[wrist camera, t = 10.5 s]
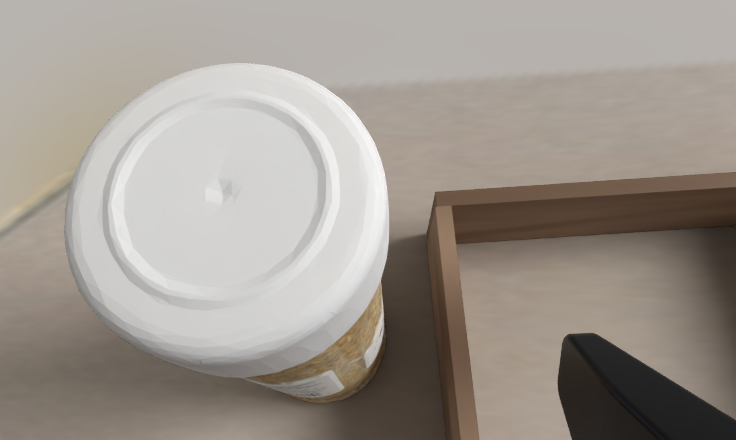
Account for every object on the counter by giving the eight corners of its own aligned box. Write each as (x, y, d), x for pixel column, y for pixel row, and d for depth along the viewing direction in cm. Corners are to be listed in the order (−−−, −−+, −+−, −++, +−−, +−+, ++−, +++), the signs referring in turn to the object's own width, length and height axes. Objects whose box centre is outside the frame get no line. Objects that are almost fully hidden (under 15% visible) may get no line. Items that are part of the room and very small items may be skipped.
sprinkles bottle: (411, 329, 20) (458, 167, 7) (328, 434, 19) (221, 449, 6) (316, 253, 21) (219, 0, 9) (233, 347, 20) (-21, 214, 7)
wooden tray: (883, 469, 18) (1013, 481, 14) (451, 495, 18) (469, 513, 14) (791, 209, 21) (878, 162, 17) (425, 233, 21) (433, 191, 18)
